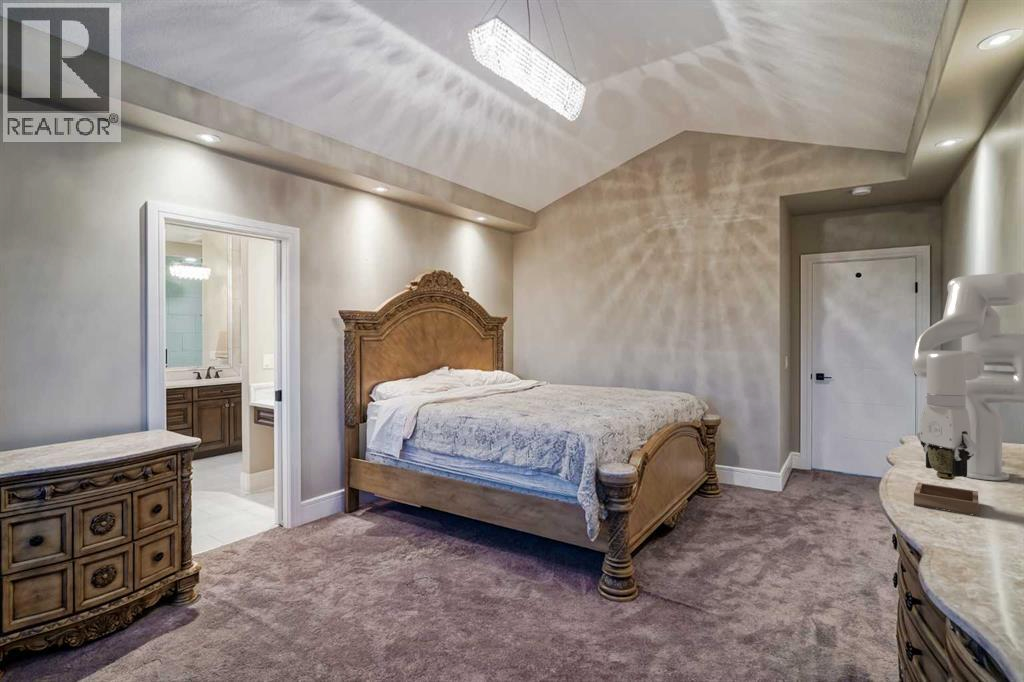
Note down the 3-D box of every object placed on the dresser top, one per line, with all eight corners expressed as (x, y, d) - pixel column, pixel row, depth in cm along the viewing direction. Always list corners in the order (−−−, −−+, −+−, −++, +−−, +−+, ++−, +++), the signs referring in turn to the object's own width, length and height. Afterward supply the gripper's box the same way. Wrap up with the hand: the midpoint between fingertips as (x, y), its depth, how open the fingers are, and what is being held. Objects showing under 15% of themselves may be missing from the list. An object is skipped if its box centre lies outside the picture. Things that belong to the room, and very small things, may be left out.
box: (917, 493, 138) (917, 482, 138) (977, 503, 130) (977, 491, 130) (913, 505, 129) (913, 493, 129) (978, 516, 121) (978, 503, 121)
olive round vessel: (934, 481, 127) (934, 448, 127) (921, 473, 134) (921, 442, 134) (971, 483, 124) (971, 451, 124) (957, 476, 131) (957, 444, 131)
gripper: (903, 397, 137) (903, 463, 137) (964, 406, 120) (964, 482, 120) (930, 397, 138) (930, 463, 138) (994, 405, 120) (994, 481, 120)
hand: (945, 471), depth 129 cm, fingers closed on olive round vessel, 7 cm apart
